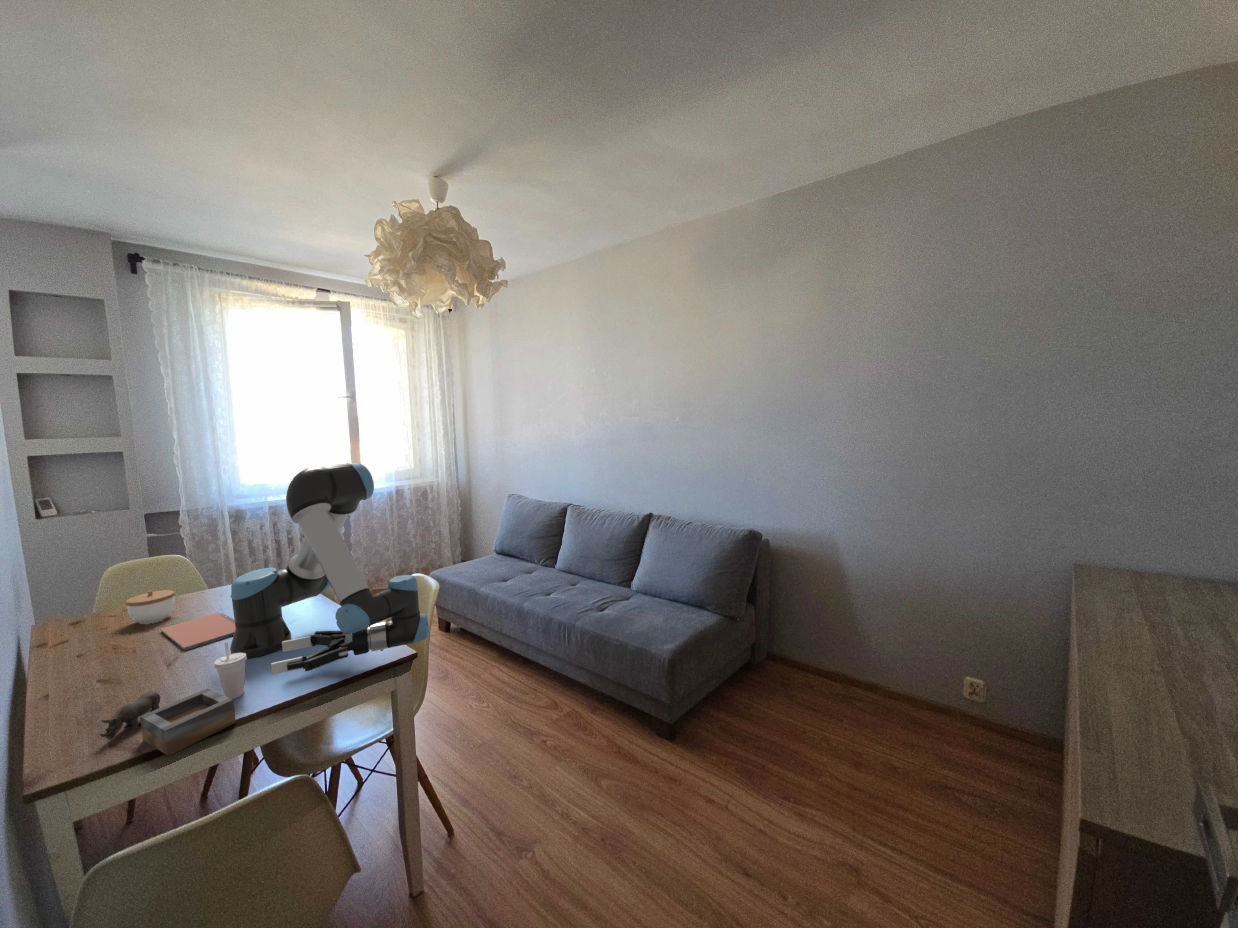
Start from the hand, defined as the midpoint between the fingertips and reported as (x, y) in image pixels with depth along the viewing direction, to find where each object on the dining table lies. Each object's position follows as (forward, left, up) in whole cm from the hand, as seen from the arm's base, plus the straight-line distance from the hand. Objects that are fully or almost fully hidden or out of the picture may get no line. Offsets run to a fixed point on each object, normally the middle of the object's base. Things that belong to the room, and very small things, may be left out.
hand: (277, 657), depth 125 cm
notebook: (-63, +9, -8) cm, 64 cm away
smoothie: (-6, -8, -8) cm, 12 cm away
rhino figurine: (-13, -25, -8) cm, 29 cm away
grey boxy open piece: (+2, -20, -7) cm, 21 cm away
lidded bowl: (-94, +6, -8) cm, 94 cm away
